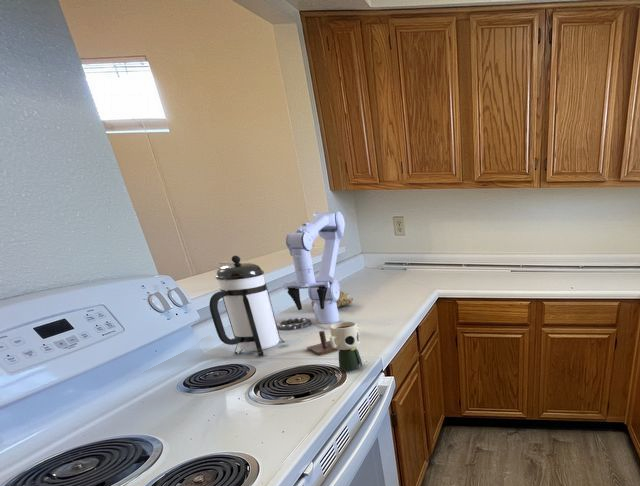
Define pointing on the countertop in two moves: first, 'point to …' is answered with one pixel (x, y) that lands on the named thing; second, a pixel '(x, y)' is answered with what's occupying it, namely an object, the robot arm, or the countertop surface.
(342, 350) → the character mug
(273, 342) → the coffee press
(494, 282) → the countertop surface
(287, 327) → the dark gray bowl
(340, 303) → the sponge
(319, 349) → the peg
